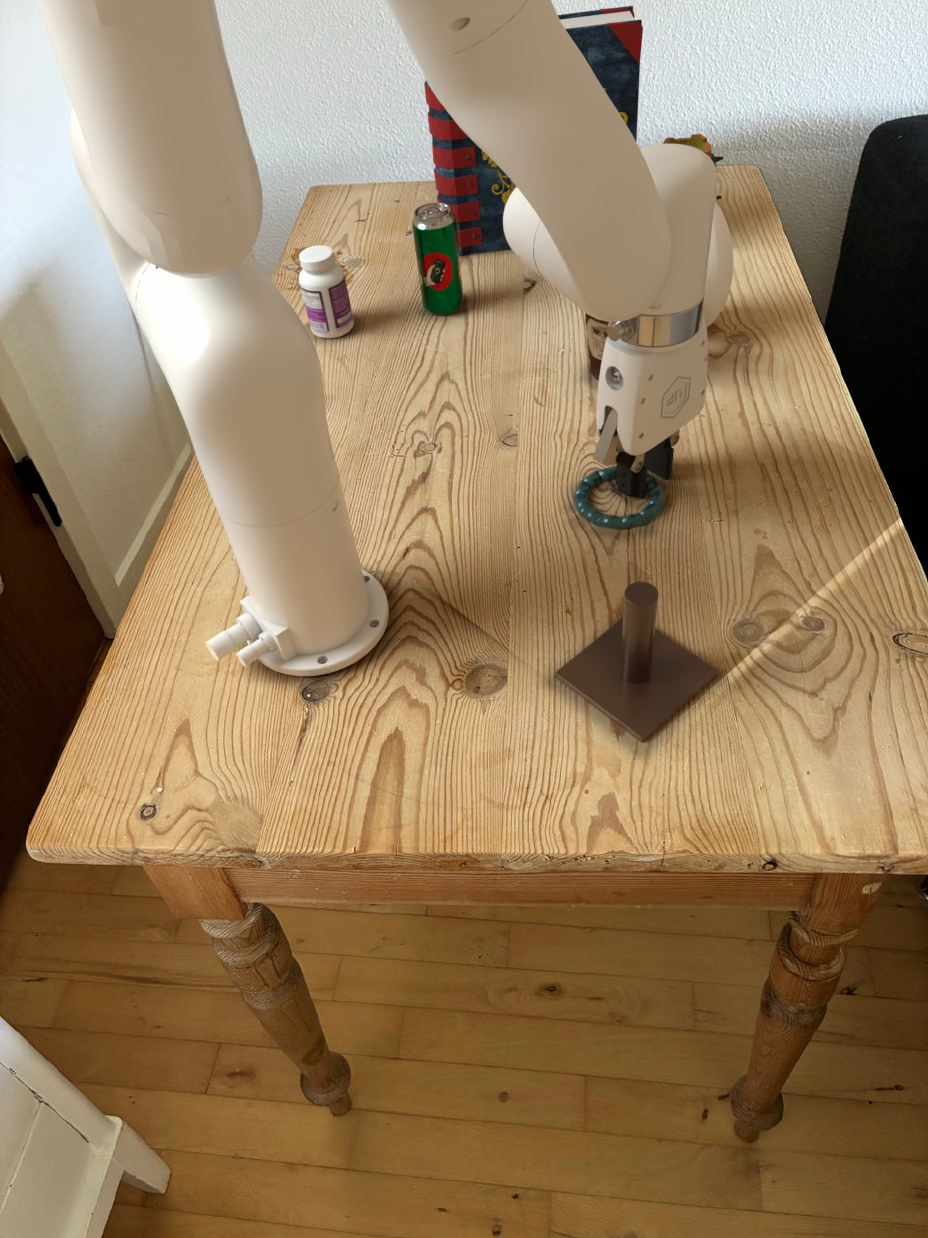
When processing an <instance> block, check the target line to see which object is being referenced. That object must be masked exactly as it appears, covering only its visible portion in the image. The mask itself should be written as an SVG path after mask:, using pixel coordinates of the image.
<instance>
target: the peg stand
mask: <svg viewBox="0 0 928 1238" xmlns="http://www.w3.org/2000/svg"><path fill="white" fill-rule="evenodd" d="M659 595H660V594H659V589H658V588H657V587H656V586H655V585H654V584H652V583H650V582H648V581H635V582H632V583H630V584H629V585H628V586H626V588H625V590H624V598H623V615H622V616H623V617H622V618H621V619H619V620H618V621H617V622H616V623H614V624H613V625H612V626H611V627H610V628H608V629H607V630H606V631H604V632H603V633H602V634H600V635H599V636H598V637H597V638H596V639H595V640H594V641H592V642H591V643H590V644H589V645H587V646H586V647H585V648H584V649H582V650H581V651H580V652H579V653H578V654H576V655H575V656H574V657H572V658H571V659H570V660H569V661H568V662H566V663H565V664H564V665H563V666H562V667H560V668H559V669H558V670H557V671H555V672H554V678H555V679H556V680H558V681H559V682H560V683H562V684H563V685H564V686H565V687H566V688H568V689H569V690H571V691H572V692H574V693H575V694H576V695H578V697H580V698H582V699H583V700H584V701H586V702H587V703H588V704H589V705H591V706H592V707H593V708H595V710H598V711H599V712H600V713H601V714H602V715H604V716H605V717H607V718H608V719H609V720H611V721H612V722H613V723H615V724H616V725H617V726H619V727H620V728H621V729H623V730H624V731H625V732H627V734H629V735H630V736H632V737H633V738H635V739H636V740H637V741H638V742H640V743H643V742H644V741H645V740H646V739H648V738H649V737H650V736H651V735H652V734H653V733H654V732H655V731H657V729H659V728H660V727H661V726H662V725H663V724H664V723H665V722H667V720H668V719H670V718H671V717H672V716H673V715H674V714H675V713H676V712H677V711H679V709H681V708H682V707H683V706H684V705H685V704H687V702H688V701H690V700H691V699H692V698H693V697H694V696H696V694H697V693H699V692H700V691H701V690H702V689H703V688H705V686H706V685H707V684H709V682H711V681H712V680H713V679H714V678H715V677H716V676H718V671H719V670H718V669H717V668H716V667H713V666H712V665H711V664H709V663H708V662H706V661H705V660H703V659H702V658H700V657H699V656H697V655H696V654H694V653H693V652H691V651H690V650H688V649H687V648H685V647H683V646H682V645H681V644H680V643H678V642H676V641H675V640H673V639H672V638H670V637H669V636H667V635H666V634H664V633H663V632H661V631H660V630H658V629H657V628H656V627H657V626H656V625H657V617H658V606H659V598H660V597H659Z"/></svg>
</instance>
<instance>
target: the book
mask: <svg viewBox="0 0 928 1238" xmlns="http://www.w3.org/2000/svg"><path fill="white" fill-rule="evenodd" d="M557 15H558V17H559V19H560V21H561V23H562V25H563V26H564V28H565V29H566V31H567V33H568V34H569V35H570V37H571V38H572V40H573V41H574V43H575V44H576V46H577V47H578V49H579V50H580V52H581V53H582V55H583V56H584V58H585V59H586V61H587V63H588V64H589V66H590V68H591V69H592V71H593V73H594V74H595V76H596V78H597V79H598V81H599V83H600V84H601V86H602V88H603V89H604V91H605V92H606V94H607V95H608V97H609V98H610V100H611V101H612V103H613V104H614V106H615V107H616V109H617V111H618V112H619V114H620V115H621V117H622V118H623V120H624V122H625V123H626V125H627V127H628V128H629V130H630V132H631V133H632V135H633V137H634V139H635V141H636V143H638V141H637V140H638V139H637V138H638V119H639V118H638V114H639V94H640V73H641V72H640V71H641V58H642V57H641V55H642V47H643V46H642V45H643V34H644V27H643V20H642V19H641V18H640V19H635V16H636V15H635V11H634V6H633V5H628V6H625V5H624V6H618V7H609V8H608V7H607V8H599V9H594V10H586V11H579V12H570V13H562V14H557ZM423 86H424V87H423V88H424V94H425V102H426V104H427V106H428V112H427V121H428V131H429V134H430V135H431V139H432V140H431V147H432V162H433V164H434V169H433V175H434V182H435V183H434V184H435V190H436V191H437V195H436V202H438V203H445V204H447V205H449V206H450V207H451V209H452V213H453V214H454V215H455V217H456V227H457V237H458V247H459V256H462V257H463V256H465V255H466V256H468V255H470V254H478V253H485V252H486V253H487V252H494V251H495V252H496V251H504V250H510V249H511V247H510V246H509V244H508V242H507V240H506V237H505V233H504V228H503V214H504V209H505V206H506V203H507V201H508V199H509V197H510V195H511V193H512V192H513V190H514V189H515V188H516V187H517V186H516V185H515V184H514V183H513V182H512V180H511V179H510V178H509V177H508V176H507V175H506V174H505V172H504V171H503V170H502V169H501V168H500V167H499V166H498V165H497V164H496V163H495V162H494V161H493V160H492V159H491V158H490V157H489V156H488V155H487V154H486V153H485V152H484V151H483V150H482V149H481V148H480V147H478V146H477V145H476V144H475V143H474V142H473V141H472V140H471V139H470V138H469V137H468V136H467V135H466V134H465V132H464V131H463V130H462V129H461V128H460V127H459V126H458V124H457V123H456V122H455V121H454V119H453V118H452V117H451V116H450V114H449V113H448V112H447V110H446V109H445V108H444V106H443V105H442V104H441V103H440V101H439V100H438V98H437V97H436V95H435V94H434V92H433V91H432V89H431V88H430V86H429V84H428V82H427V80H426V79H425V81H424V84H423ZM511 250H512V249H511Z"/></svg>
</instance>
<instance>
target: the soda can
mask: <svg viewBox="0 0 928 1238" xmlns="http://www.w3.org/2000/svg"><path fill="white" fill-rule="evenodd" d="M411 226H412V235H413V241H414V242H413V243H414V250H415V257H416V264H417V273H418V280H419V288H420V295H421V302H422V308H424V309H425V311H427V313H429V314H431V315H433V316H439V317H440V316H449V315H452V314H454V313H456V312H458V311H459V310H460V308H461V307H462V306H463V304H464V302H465V300H464V291H463V279H462V270H461V260H460V255H459V247H458V237H457V227H456V217H455V215H454V214H453V213H452V209H451V207H450V206H449V205H447V204H445V203H438V202H437V201H435V202H428V203H424V204H422V205H420V206H418V207H416V208H415V210H414V212H413V218H412V220H411Z"/></svg>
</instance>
